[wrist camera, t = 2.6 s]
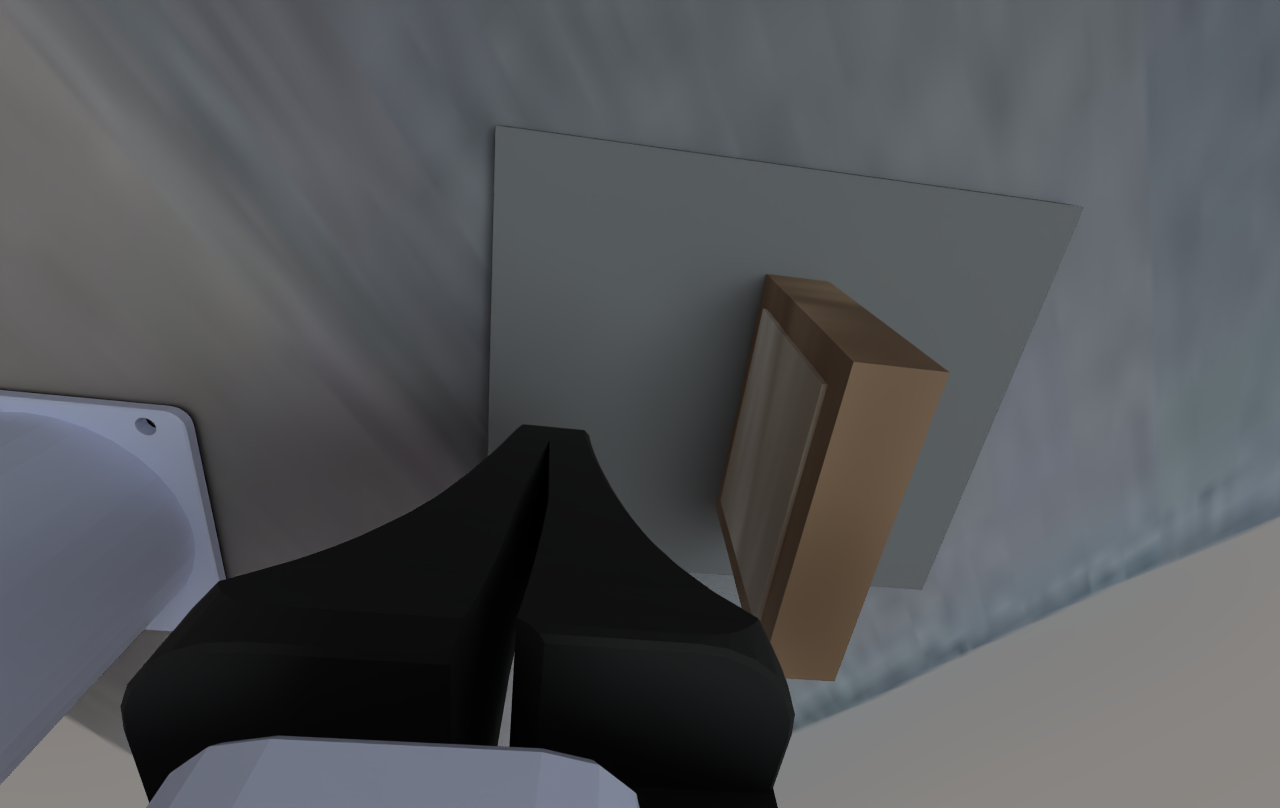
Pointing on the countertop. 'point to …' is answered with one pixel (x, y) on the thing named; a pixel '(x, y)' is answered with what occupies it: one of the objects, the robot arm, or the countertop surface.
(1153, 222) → the countertop surface
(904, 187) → the mat
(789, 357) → the slab
